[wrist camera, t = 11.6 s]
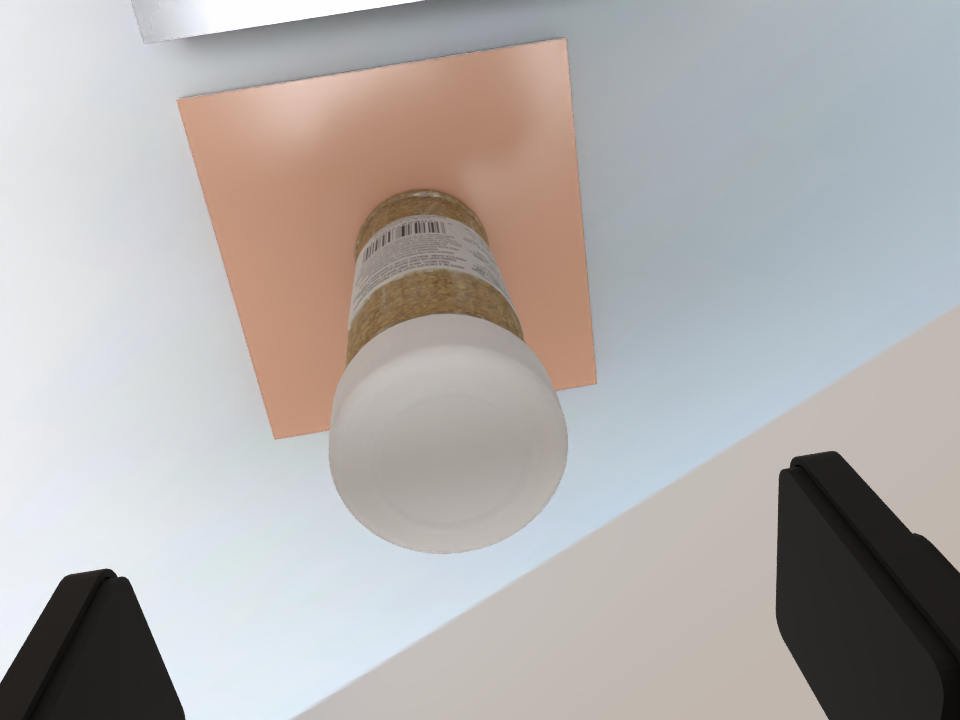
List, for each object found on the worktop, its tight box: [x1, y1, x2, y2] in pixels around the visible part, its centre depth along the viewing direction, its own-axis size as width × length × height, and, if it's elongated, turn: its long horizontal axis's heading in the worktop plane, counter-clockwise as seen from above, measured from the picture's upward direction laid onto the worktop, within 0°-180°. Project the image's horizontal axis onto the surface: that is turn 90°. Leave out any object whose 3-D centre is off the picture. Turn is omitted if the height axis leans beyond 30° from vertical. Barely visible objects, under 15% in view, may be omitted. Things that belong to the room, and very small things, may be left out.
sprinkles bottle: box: [329, 189, 568, 554], centre depth 21 cm, size 5×5×13 cm
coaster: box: [177, 37, 597, 440], centre depth 27 cm, size 12×12×1 cm
